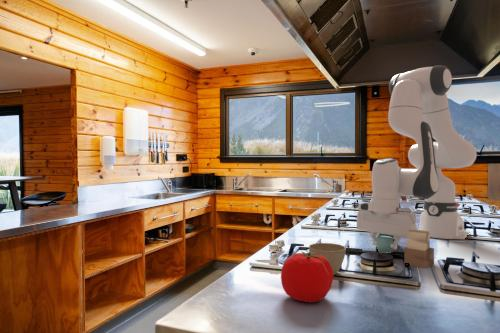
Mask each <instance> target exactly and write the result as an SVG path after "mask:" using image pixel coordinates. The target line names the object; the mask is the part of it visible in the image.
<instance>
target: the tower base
mask: <svg viewBox="0 0 500 333" xmlns="http://www.w3.org/2000/svg"><path fill="white" fill-rule="evenodd" d="M403 253H404V255H403V256H404V257H403V258H404V261H403V262H404V265H406V264H405V263H409V264H410V265H409V266H413V267H416V268H421V269H427V268H429V267H432V266H434V265H435V248H433V247H430V248H429V249H427V250H426V251H422V250H416V249H409V248H407V246H406V247H404V252H403ZM433 264H434V265H433Z"/></svg>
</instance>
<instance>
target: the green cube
mask: <svg viewBox="0 0 500 333" xmlns="http://www.w3.org/2000/svg"><path fill="white" fill-rule="evenodd" d="M376 237H377V246H376V250H377V249H378V251H379V252H388V253H389V252H394V251H393V250H394V249H391V248H390V247H391V246H390V244H391V243H393V238H392V237H389V236H379V235H378V236H377V235H376Z"/></svg>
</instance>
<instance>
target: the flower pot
mask: <svg viewBox="0 0 500 333" xmlns="http://www.w3.org/2000/svg"><path fill="white" fill-rule="evenodd" d="M308 250H309V251H308V252H309V253H311V254H317V255H320V256H323V257H325V258H326V259H327V260H328V262H329V263H330V265H331V267H332V269H333V276H334V275H337V273H338V272H339V271H340V269H341V267H342V265H343V263H344V259H345V256H346V251H347V248H346V246H345V245H343V244H342V245H341V244H338V243H329V242H317V243H311V244H310V245H308Z"/></svg>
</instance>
